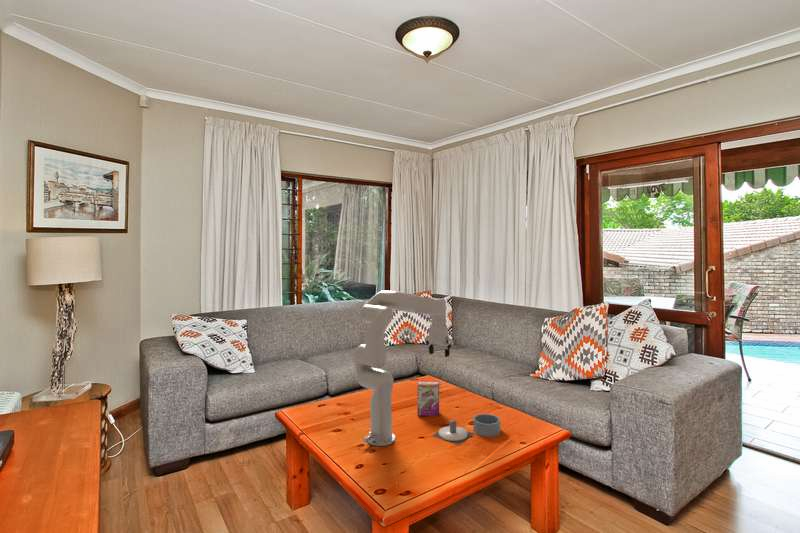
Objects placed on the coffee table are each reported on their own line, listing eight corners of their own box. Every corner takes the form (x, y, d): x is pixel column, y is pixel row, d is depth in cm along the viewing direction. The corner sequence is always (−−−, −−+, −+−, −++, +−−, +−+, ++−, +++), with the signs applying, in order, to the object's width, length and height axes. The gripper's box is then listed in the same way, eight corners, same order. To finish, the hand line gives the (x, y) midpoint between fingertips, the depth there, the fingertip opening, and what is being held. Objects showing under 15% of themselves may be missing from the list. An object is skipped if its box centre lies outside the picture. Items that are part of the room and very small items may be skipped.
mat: (458, 446, 178) (458, 444, 178) (431, 437, 187) (431, 435, 187) (474, 434, 188) (474, 433, 188) (448, 426, 197) (448, 425, 197)
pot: (492, 440, 183) (492, 426, 183) (468, 432, 190) (468, 420, 190) (504, 430, 192) (504, 418, 192) (481, 424, 200) (481, 411, 199)
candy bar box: (417, 416, 210) (417, 384, 210) (418, 412, 215) (417, 381, 215) (439, 416, 209) (439, 384, 209) (439, 413, 214) (439, 381, 214)
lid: (457, 444, 178) (457, 429, 178) (433, 435, 187) (432, 422, 186) (473, 433, 188) (472, 420, 188) (448, 426, 197) (448, 413, 196)
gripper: (421, 321, 217) (421, 354, 218) (449, 325, 206) (449, 359, 207) (429, 319, 223) (429, 351, 224) (456, 323, 212) (457, 356, 213)
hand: (439, 355), depth 215 cm, fingers open, 9 cm apart
